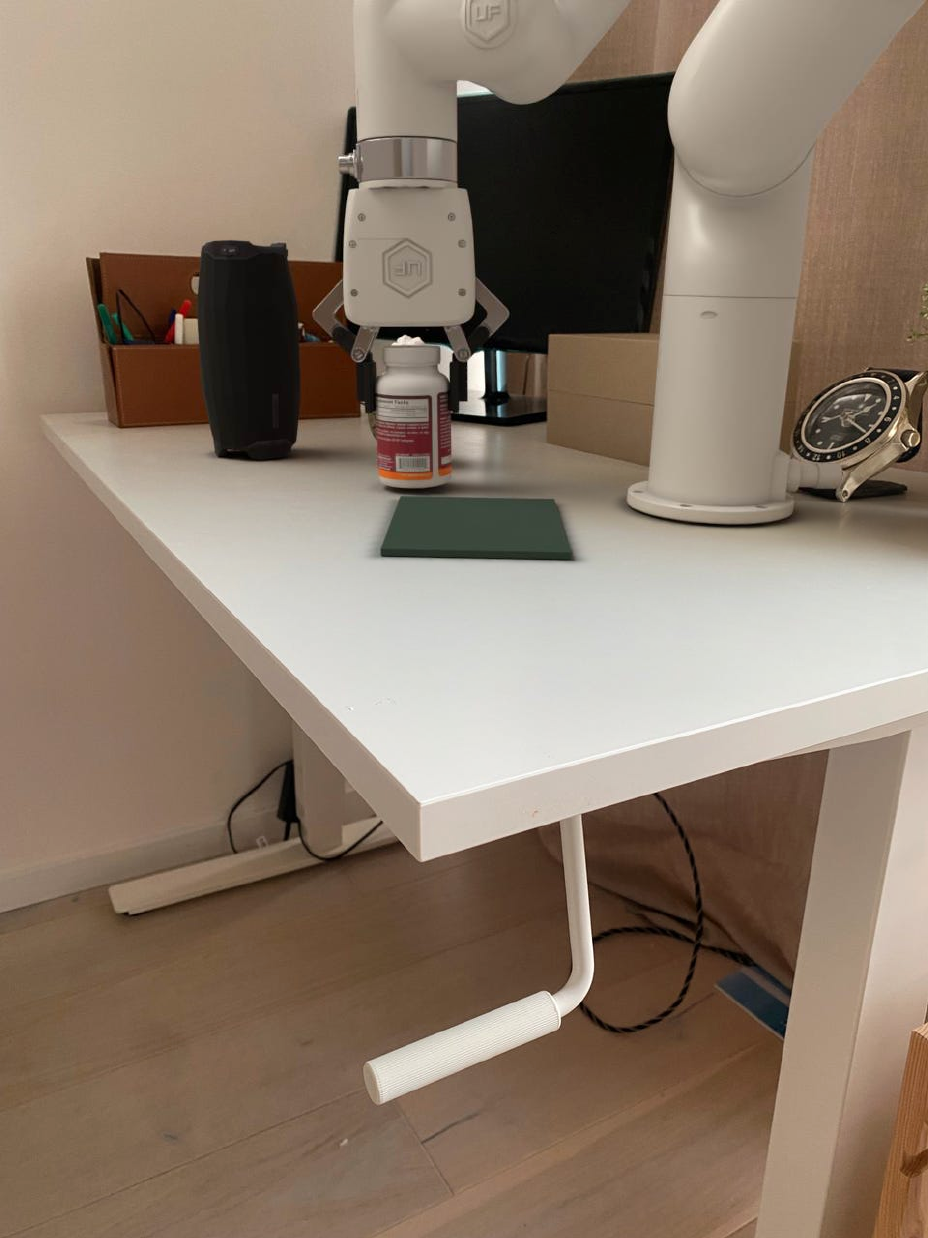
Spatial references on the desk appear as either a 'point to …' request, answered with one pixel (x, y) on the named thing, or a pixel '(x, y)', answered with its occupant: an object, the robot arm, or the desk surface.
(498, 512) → the desk mat
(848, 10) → the robot arm
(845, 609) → the desk surface
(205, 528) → the desk surface
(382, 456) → the pill bottle
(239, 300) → the portable speaker
